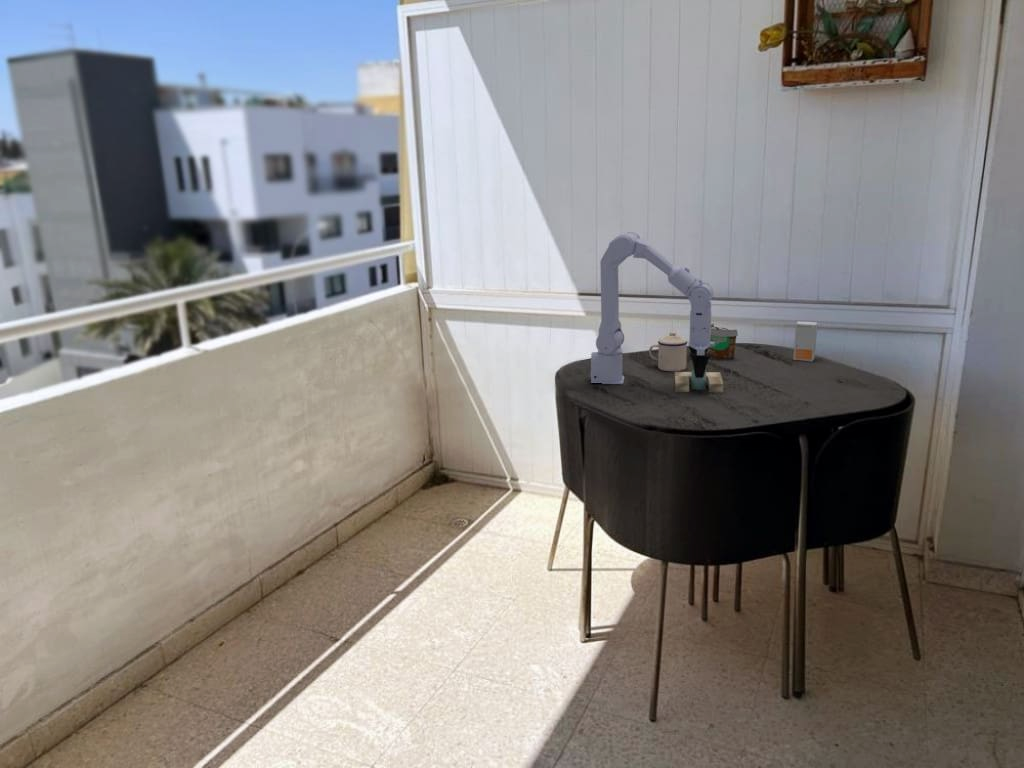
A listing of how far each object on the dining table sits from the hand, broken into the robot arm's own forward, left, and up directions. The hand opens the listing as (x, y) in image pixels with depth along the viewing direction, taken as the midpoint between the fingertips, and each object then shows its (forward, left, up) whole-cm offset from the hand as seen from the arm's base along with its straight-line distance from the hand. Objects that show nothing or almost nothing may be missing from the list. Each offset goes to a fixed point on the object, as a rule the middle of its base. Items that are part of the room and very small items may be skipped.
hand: (698, 373), depth 207 cm
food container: (+8, +35, -4) cm, 37 cm away
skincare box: (+35, +33, -4) cm, 48 cm away
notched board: (0, +1, -4) cm, 4 cm away
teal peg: (0, 0, -4) cm, 4 cm away
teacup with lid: (-8, +21, -4) cm, 23 cm away
